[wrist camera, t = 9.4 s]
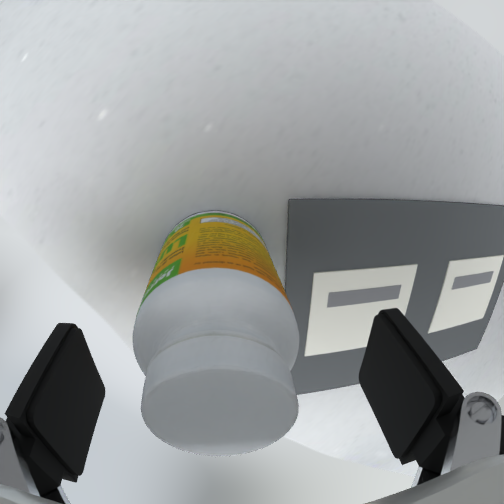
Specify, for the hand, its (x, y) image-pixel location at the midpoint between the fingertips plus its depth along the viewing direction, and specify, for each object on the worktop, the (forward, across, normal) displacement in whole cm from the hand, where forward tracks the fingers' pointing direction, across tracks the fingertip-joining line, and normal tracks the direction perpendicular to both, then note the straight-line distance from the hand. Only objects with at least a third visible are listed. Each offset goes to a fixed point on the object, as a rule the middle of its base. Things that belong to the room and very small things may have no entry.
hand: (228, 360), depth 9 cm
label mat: (+8, -13, +4) cm, 16 cm away
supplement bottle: (+7, +1, 0) cm, 8 cm away
